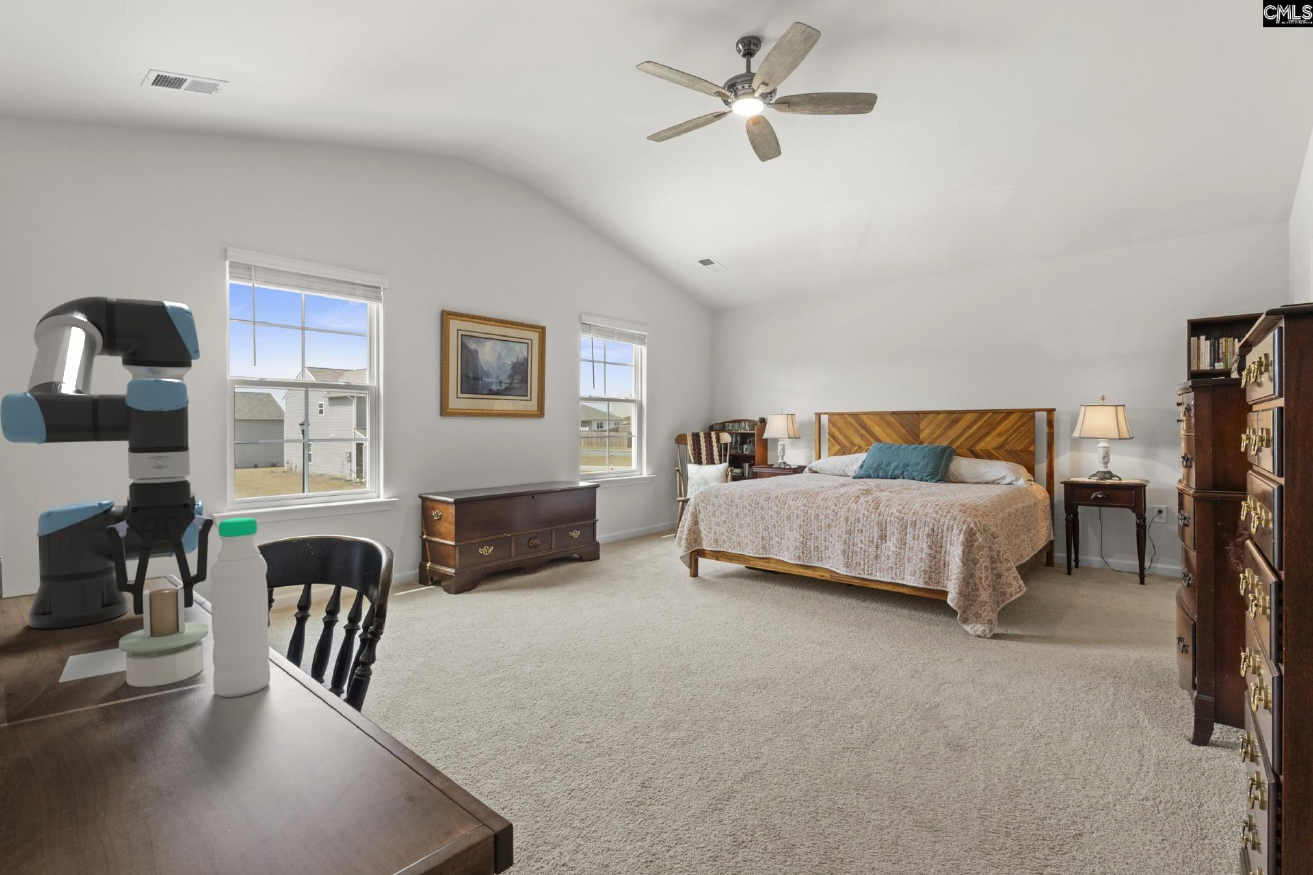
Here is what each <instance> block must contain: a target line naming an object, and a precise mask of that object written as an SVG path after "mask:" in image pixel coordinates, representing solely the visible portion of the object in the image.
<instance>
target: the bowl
mask: <svg viewBox="0 0 1313 875" xmlns="http://www.w3.org/2000/svg"><path fill="white" fill-rule="evenodd" d="M203 646H204V645H203V640H202V639H201V640H198V641H196V642H193V643H190V644H187V645H183V646H180V647H175V648H171V649H165V650H159V651H151V652H127V654H126V671H125V673H126V683H127V685H129V686H132V687H139V688H140V687H141V688H142V687H145V688H146V687H157V686H161V685H163V686H164V685H167V684H168V685H169V684H173V683H176V682H180V681H183V680H186V679H189V678H191V677H194V676H196V675H197V674H199V673H201V672H202V671H203V669H204V647H203Z"/></svg>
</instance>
